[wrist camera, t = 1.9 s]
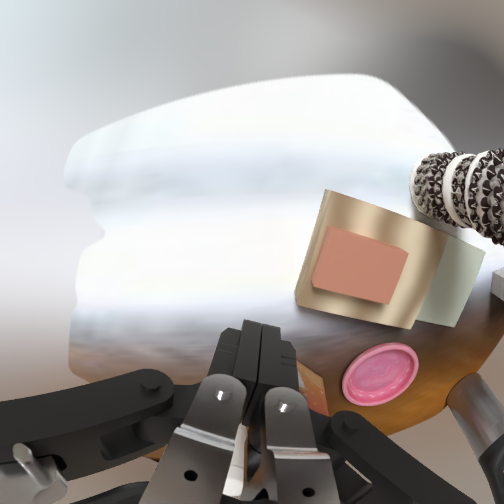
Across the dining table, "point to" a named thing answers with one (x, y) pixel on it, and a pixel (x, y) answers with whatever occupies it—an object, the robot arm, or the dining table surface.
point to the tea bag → (498, 283)
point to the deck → (385, 230)
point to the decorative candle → (462, 190)
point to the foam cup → (236, 465)
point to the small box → (312, 389)
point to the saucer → (380, 374)
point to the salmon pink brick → (358, 266)
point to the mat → (451, 283)
